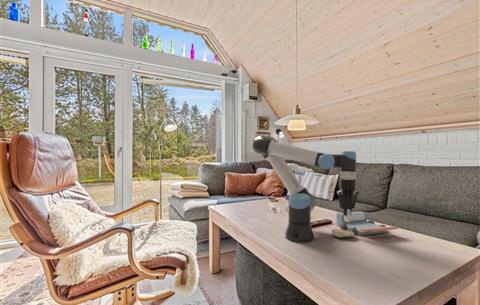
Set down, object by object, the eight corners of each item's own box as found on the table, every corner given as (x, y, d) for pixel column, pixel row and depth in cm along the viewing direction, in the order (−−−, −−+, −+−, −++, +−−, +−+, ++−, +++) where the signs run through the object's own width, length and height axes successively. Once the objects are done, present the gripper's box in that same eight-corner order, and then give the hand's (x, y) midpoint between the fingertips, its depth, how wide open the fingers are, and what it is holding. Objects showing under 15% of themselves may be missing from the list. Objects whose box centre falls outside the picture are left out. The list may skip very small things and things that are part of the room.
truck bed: (357, 237, 126) (357, 222, 126) (334, 226, 146) (334, 213, 146) (389, 234, 131) (389, 219, 131) (363, 223, 151) (363, 211, 151)
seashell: (352, 232, 131) (351, 227, 131) (357, 240, 119) (356, 235, 119) (330, 232, 134) (329, 227, 134) (333, 240, 122) (332, 235, 122)
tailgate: (360, 231, 127) (371, 231, 119) (360, 229, 127) (371, 229, 120) (386, 229, 130) (398, 229, 123) (385, 226, 131) (397, 226, 123)
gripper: (342, 179, 123) (341, 223, 123) (363, 179, 126) (361, 222, 126) (333, 178, 131) (332, 219, 131) (353, 177, 134) (352, 218, 134)
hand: (346, 221), depth 129 cm, fingers closed
